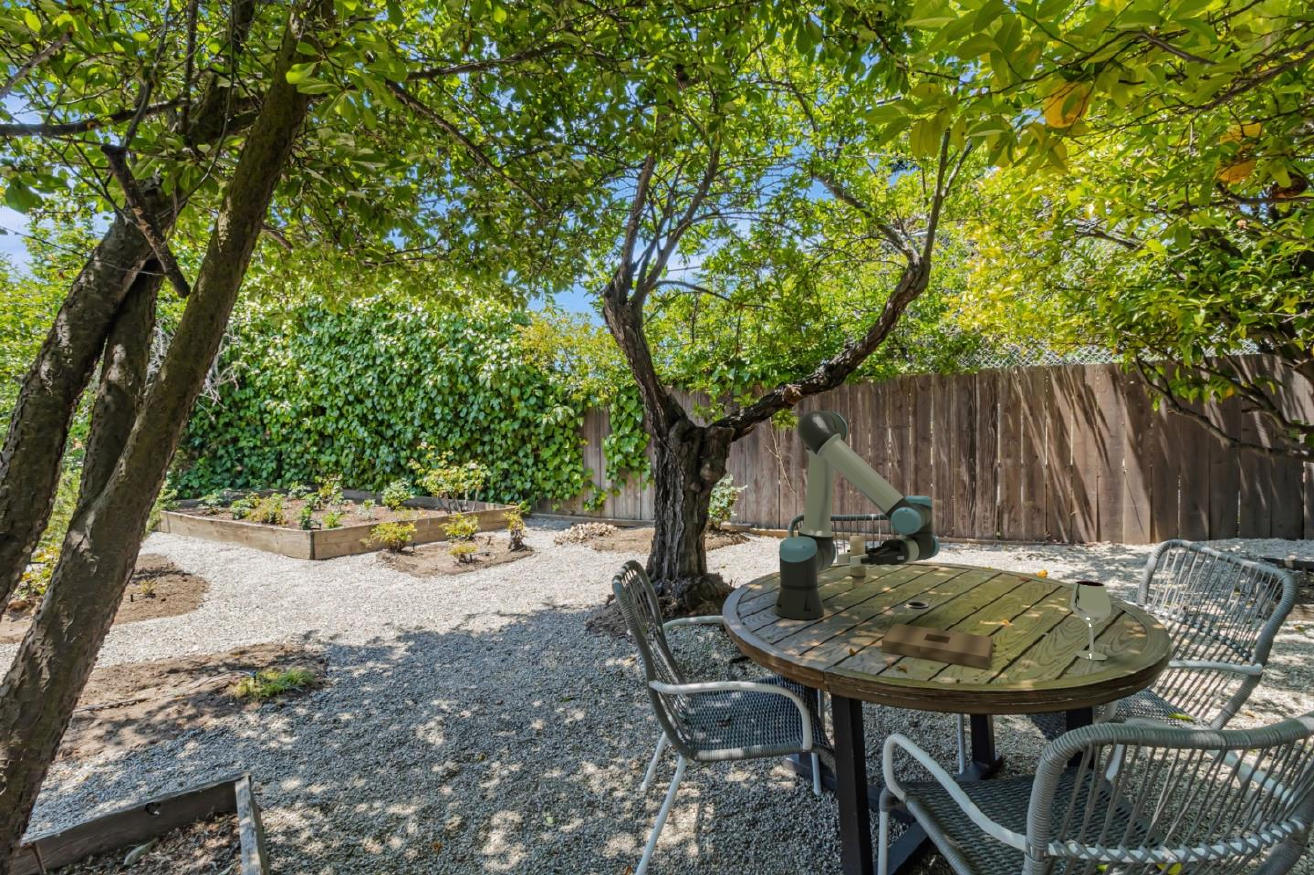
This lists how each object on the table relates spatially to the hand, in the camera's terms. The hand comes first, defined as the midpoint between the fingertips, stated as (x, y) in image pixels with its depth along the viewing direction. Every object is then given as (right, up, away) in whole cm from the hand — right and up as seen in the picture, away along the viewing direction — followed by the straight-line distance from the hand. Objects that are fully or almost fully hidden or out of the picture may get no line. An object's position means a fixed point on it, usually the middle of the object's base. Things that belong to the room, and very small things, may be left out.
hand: (844, 560), depth 162 cm
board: (+21, -21, -9) cm, 31 cm away
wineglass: (+56, -21, -16) cm, 62 cm away
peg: (+5, -8, +3) cm, 10 cm away
